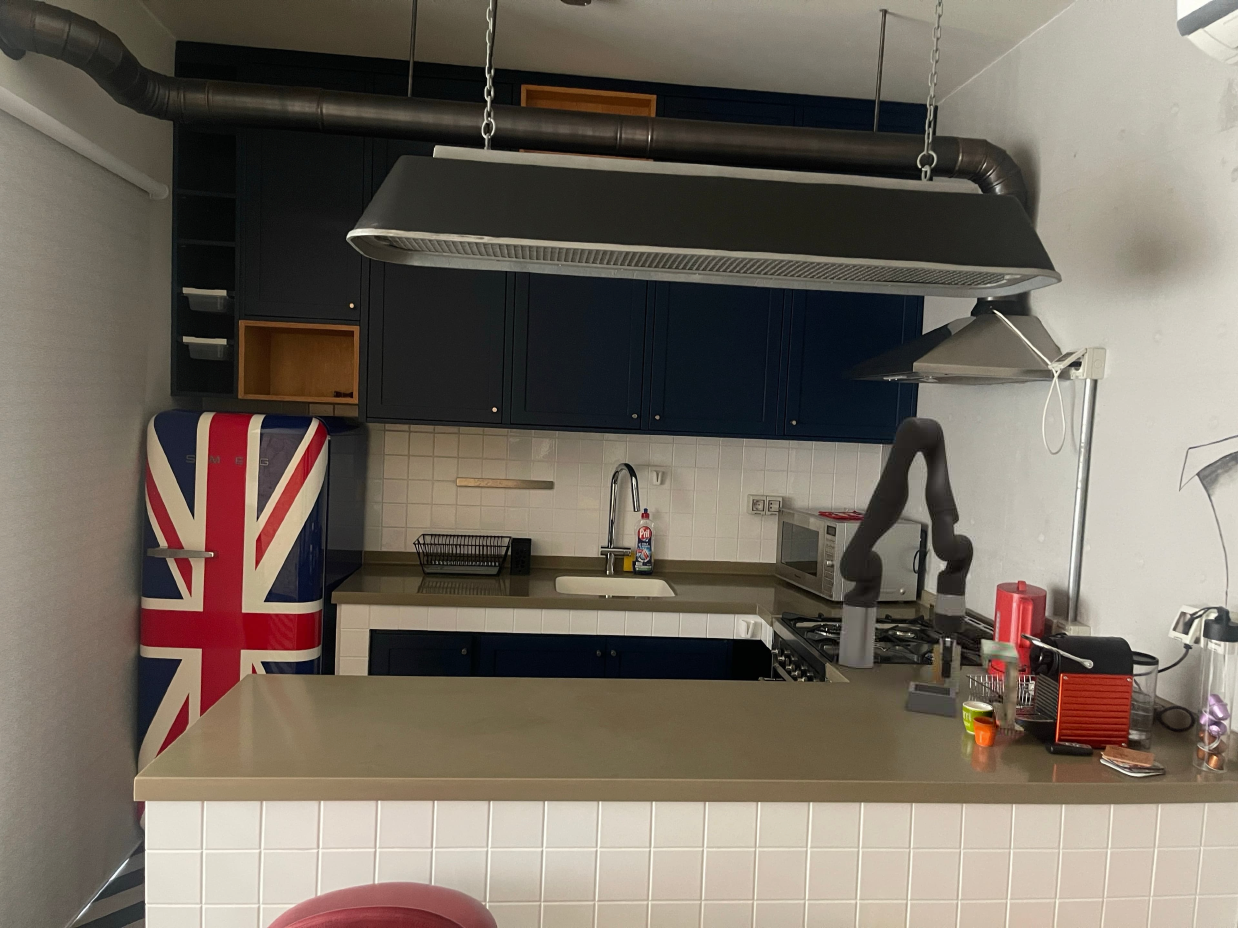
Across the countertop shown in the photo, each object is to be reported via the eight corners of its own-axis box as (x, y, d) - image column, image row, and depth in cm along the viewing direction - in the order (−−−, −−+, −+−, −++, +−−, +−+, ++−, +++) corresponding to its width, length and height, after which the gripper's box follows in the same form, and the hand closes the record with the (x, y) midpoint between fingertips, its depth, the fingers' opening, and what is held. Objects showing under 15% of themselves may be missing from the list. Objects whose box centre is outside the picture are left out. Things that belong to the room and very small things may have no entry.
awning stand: (979, 724, 196) (984, 652, 196) (977, 704, 213) (981, 639, 213) (1025, 731, 192) (1030, 658, 192) (1019, 710, 209) (1023, 644, 209)
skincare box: (943, 688, 227) (946, 642, 227) (959, 692, 224) (962, 645, 224) (929, 691, 223) (932, 644, 223) (945, 695, 220) (948, 647, 220)
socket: (907, 709, 204) (908, 690, 204) (909, 699, 214) (910, 681, 214) (954, 717, 200) (955, 697, 200) (954, 706, 210) (955, 687, 210)
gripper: (934, 605, 232) (930, 666, 232) (933, 613, 218) (929, 678, 218) (964, 609, 229) (960, 670, 229) (965, 617, 216) (961, 682, 216)
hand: (945, 674), depth 224 cm, fingers closed on skincare box, 7 cm apart
